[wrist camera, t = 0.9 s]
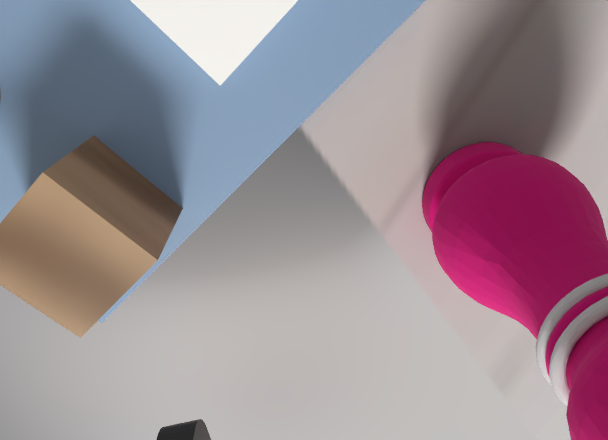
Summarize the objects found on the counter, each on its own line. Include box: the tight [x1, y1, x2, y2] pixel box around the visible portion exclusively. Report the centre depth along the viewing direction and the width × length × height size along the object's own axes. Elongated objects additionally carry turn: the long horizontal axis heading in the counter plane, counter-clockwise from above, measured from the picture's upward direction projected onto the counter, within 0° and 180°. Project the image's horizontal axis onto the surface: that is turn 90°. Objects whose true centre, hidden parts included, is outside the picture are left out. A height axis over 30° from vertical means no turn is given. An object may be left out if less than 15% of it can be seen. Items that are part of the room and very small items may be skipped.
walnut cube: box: [0, 136, 183, 338], centre depth 23 cm, size 6×6×6 cm
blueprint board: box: [0, 0, 425, 323], centre depth 23 cm, size 24×16×2 cm, turn 135°
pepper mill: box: [422, 142, 608, 440], centre depth 18 cm, size 7×7×20 cm
